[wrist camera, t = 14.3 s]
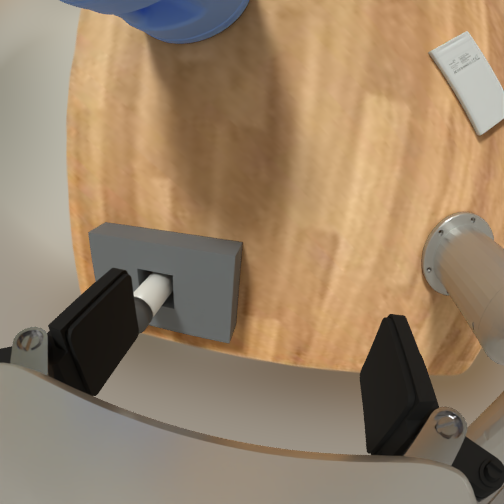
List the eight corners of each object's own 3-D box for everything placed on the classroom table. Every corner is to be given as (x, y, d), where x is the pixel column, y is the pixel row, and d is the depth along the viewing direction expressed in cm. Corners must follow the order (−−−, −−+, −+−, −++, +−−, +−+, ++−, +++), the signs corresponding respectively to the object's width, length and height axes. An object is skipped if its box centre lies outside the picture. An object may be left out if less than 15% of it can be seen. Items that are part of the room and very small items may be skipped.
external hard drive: (475, 134, 29) (426, 53, 26) (508, 110, 26) (463, 32, 23) (480, 135, 27) (431, 50, 25) (514, 110, 24) (468, 30, 22)
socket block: (242, 242, 40) (235, 256, 36) (236, 324, 46) (229, 343, 42) (105, 222, 43) (88, 232, 39) (115, 297, 49) (101, 311, 45)
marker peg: (186, 272, 44) (151, 320, 33) (174, 291, 46) (139, 338, 35) (163, 256, 43) (122, 298, 33) (152, 275, 45) (112, 319, 34)
